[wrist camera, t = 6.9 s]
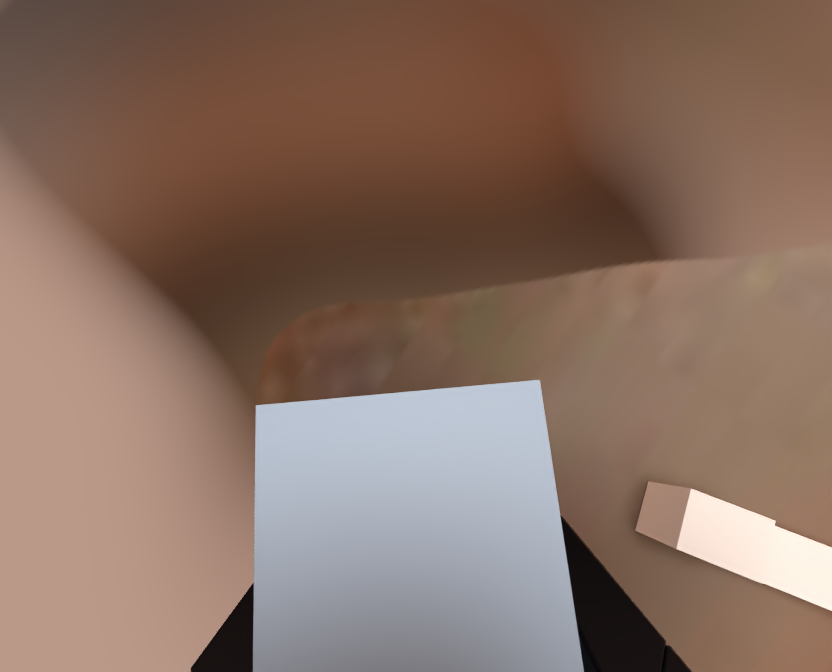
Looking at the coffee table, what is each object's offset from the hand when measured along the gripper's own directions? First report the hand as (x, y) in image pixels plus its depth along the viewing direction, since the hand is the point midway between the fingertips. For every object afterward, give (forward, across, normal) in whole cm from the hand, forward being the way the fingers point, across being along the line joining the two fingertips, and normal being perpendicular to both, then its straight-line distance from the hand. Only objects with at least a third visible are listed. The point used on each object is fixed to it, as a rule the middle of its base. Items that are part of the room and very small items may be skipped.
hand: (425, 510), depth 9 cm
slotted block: (+4, 0, +6) cm, 7 cm away
